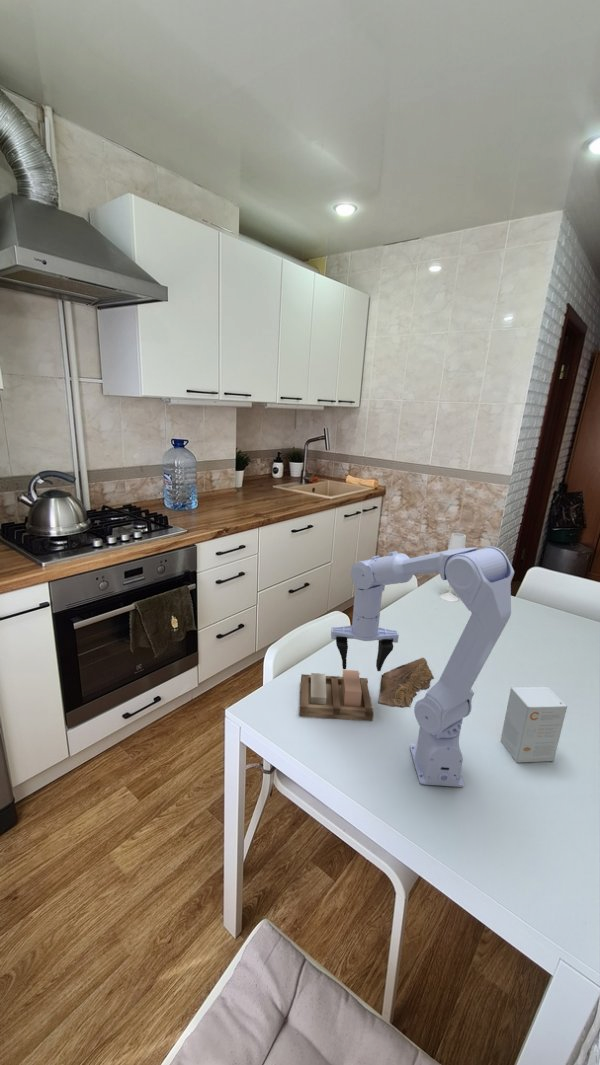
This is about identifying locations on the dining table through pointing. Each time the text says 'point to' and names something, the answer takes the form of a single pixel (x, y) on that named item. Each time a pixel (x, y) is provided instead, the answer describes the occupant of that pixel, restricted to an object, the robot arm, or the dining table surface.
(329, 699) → the rack
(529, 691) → the small box
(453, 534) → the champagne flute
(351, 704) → the clay bar
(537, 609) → the dining table surface
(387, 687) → the wooden fragment
